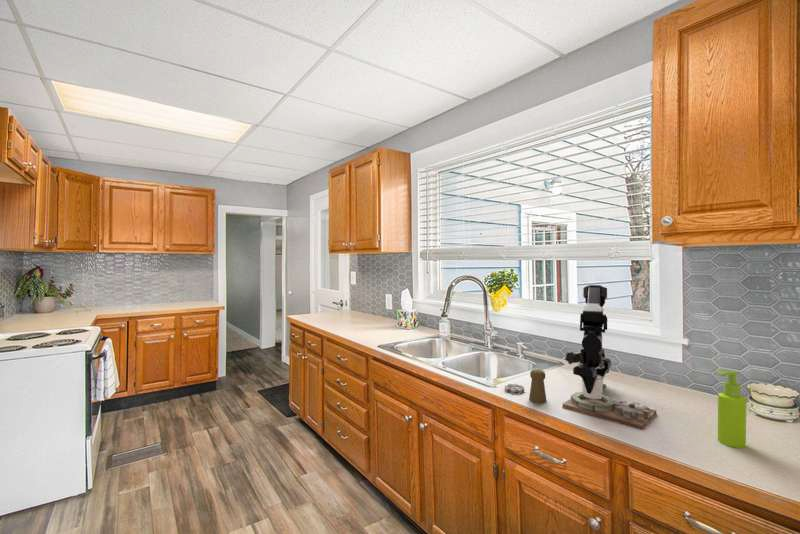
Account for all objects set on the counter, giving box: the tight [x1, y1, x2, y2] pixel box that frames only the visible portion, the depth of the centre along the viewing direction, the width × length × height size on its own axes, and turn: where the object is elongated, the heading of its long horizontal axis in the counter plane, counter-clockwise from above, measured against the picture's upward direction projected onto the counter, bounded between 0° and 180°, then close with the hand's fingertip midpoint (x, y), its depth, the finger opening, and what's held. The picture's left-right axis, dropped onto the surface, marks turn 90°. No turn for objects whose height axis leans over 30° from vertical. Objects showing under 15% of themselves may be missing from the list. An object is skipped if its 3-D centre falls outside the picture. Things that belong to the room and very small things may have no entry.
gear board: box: [562, 391, 657, 431], centre depth 127 cm, size 16×24×4 cm, turn 43°
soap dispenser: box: [716, 369, 747, 449], centre depth 105 cm, size 6×7×20 cm
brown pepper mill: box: [528, 368, 548, 404], centre depth 137 cm, size 6×6×11 cm
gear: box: [504, 383, 525, 394], centre depth 147 cm, size 7×7×2 cm
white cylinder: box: [581, 374, 605, 399], centre depth 131 cm, size 7×7×7 cm
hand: (592, 390), depth 131 cm, fingers closed on white cylinder, 6 cm apart
